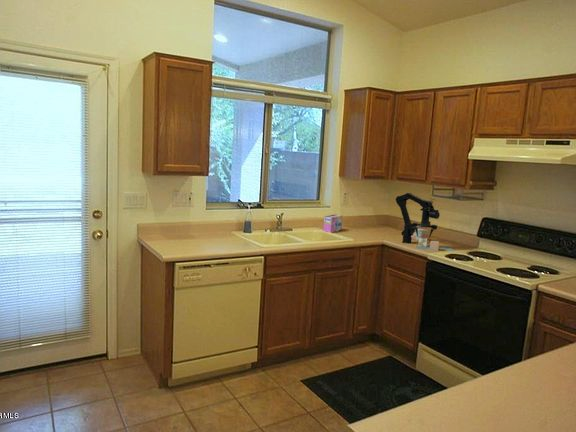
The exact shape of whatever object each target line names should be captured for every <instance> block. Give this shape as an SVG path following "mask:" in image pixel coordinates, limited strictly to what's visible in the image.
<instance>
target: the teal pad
mask: <svg viewBox="0 0 576 432" xmlns="http://www.w3.org/2000/svg"><path fill="white" fill-rule="evenodd" d="M440 250H445V251H454V248H451V247H450V248H449V247H443V246H441V247H440Z"/></svg>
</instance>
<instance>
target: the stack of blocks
mask: <svg viewBox="0 0 576 432" xmlns="http://www.w3.org/2000/svg"><path fill="white" fill-rule="evenodd" d="M417 227H418V236H417V233H416V230H415V232H414V234H413V235H411V237H412V240H417V241H419V238H426V239H427V240H428V231H429V230H428V229H423V228H422V227H421V226H417Z"/></svg>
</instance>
